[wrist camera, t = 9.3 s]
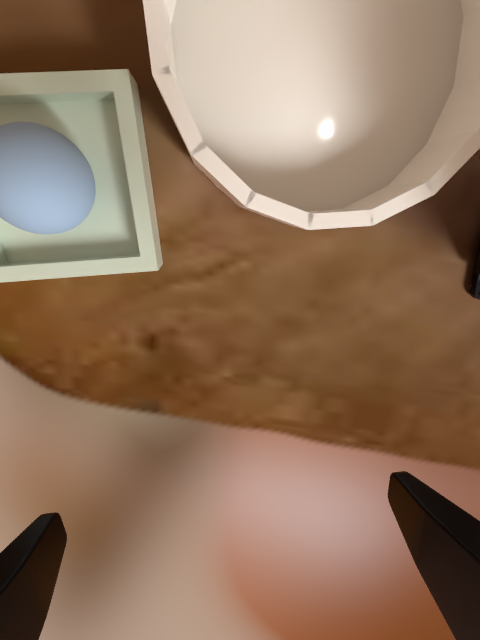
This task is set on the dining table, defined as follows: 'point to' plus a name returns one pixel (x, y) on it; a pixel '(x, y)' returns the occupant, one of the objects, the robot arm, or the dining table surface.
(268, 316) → the dining table surface
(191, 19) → the bowl
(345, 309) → the dining table surface
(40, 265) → the tray
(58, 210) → the ball
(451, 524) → the robot arm
